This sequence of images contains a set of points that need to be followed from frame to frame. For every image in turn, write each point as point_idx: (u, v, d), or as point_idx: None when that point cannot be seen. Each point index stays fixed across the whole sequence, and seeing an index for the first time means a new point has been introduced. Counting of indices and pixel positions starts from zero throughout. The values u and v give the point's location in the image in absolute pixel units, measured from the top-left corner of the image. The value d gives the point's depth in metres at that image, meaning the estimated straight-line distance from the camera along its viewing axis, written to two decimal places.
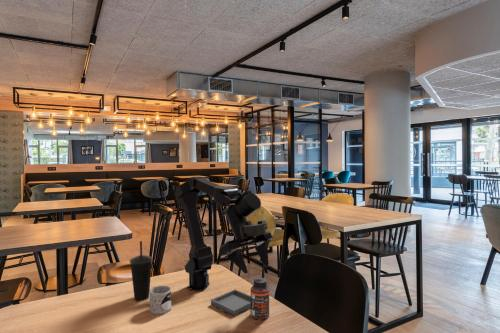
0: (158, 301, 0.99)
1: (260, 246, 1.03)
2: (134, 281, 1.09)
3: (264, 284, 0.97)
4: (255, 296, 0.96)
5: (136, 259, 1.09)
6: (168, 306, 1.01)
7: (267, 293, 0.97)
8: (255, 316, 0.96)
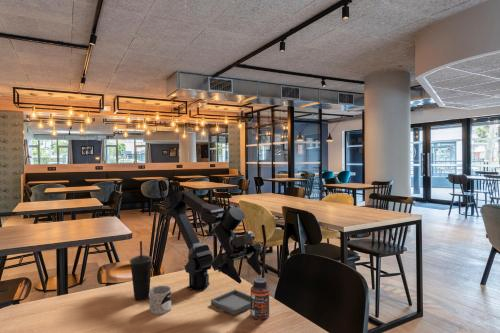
0: (158, 301, 0.99)
1: (251, 257, 1.08)
2: (134, 281, 1.09)
3: (264, 284, 0.97)
4: (255, 296, 0.96)
5: (136, 259, 1.09)
6: (168, 306, 1.01)
7: (267, 293, 0.97)
8: (255, 316, 0.96)
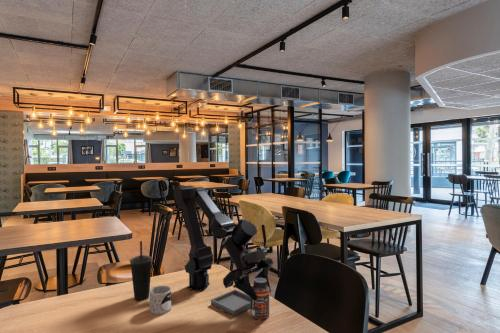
0: (158, 301, 0.99)
1: (259, 274, 1.03)
2: (134, 281, 1.09)
3: (264, 284, 0.97)
4: None
5: (136, 259, 1.09)
6: (168, 306, 1.01)
7: (267, 293, 0.97)
8: (255, 316, 0.96)
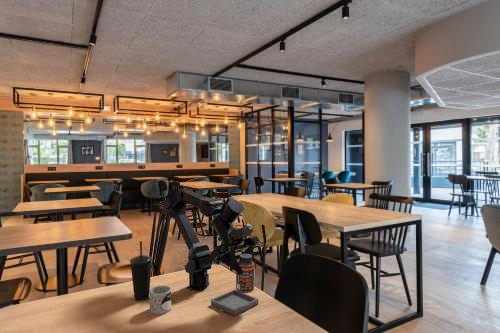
0: (158, 301, 0.99)
1: (246, 251, 1.07)
2: (134, 281, 1.09)
3: (249, 259, 1.01)
4: None
5: (136, 259, 1.09)
6: (168, 306, 1.01)
7: (252, 268, 1.00)
8: (240, 290, 1.00)
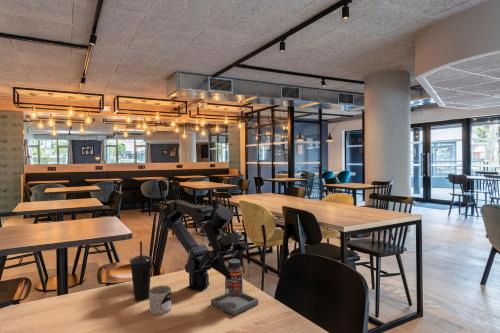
0: (158, 301, 0.99)
1: (235, 256, 1.10)
2: (134, 281, 1.09)
3: (237, 264, 1.04)
4: None
5: (136, 259, 1.09)
6: (168, 306, 1.01)
7: (240, 273, 1.04)
8: (229, 294, 1.03)
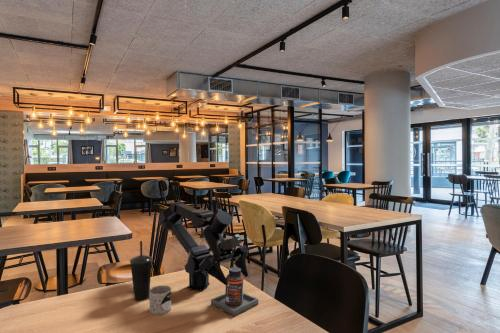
0: (158, 301, 0.99)
1: (238, 260, 1.11)
2: (134, 281, 1.09)
3: (238, 273, 1.04)
4: (229, 284, 1.03)
5: (136, 259, 1.09)
6: (168, 306, 1.01)
7: (241, 281, 1.04)
8: (229, 302, 1.04)
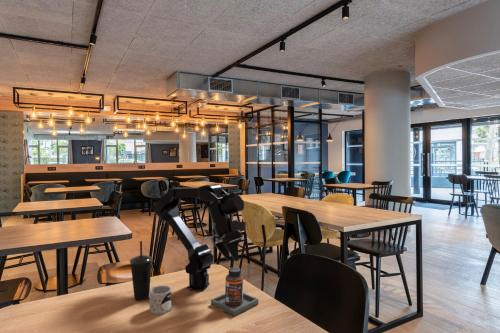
0: (158, 301, 0.99)
1: (222, 242, 1.18)
2: (134, 281, 1.09)
3: (237, 273, 1.04)
4: (229, 284, 1.03)
5: (136, 259, 1.09)
6: (168, 306, 1.01)
7: (240, 281, 1.04)
8: (229, 303, 1.04)
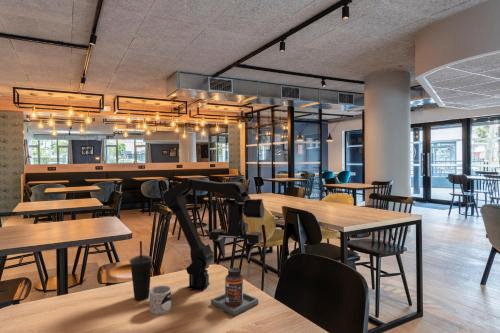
0: (158, 301, 0.99)
1: (222, 240, 1.17)
2: (134, 281, 1.09)
3: (237, 273, 1.04)
4: (228, 284, 1.03)
5: (136, 259, 1.09)
6: (168, 306, 1.01)
7: (240, 281, 1.04)
8: (229, 303, 1.04)
